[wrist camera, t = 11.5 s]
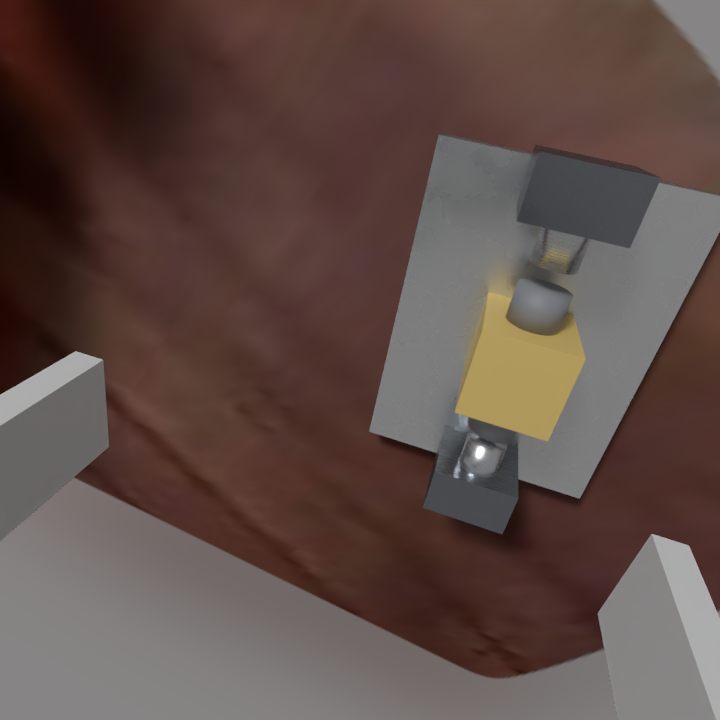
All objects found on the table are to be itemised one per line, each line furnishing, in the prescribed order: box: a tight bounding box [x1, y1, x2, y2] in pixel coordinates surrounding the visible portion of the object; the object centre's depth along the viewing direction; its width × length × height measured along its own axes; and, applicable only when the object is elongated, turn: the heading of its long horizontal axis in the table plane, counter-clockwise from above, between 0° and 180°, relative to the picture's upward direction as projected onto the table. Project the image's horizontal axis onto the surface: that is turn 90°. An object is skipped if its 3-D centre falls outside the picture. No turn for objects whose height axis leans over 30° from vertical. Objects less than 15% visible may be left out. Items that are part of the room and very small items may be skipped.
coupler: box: [455, 278, 586, 444], centre depth 28 cm, size 9×5×6 cm, turn 169°
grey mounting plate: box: [369, 133, 720, 534], centre depth 29 cm, size 21×15×7 cm
